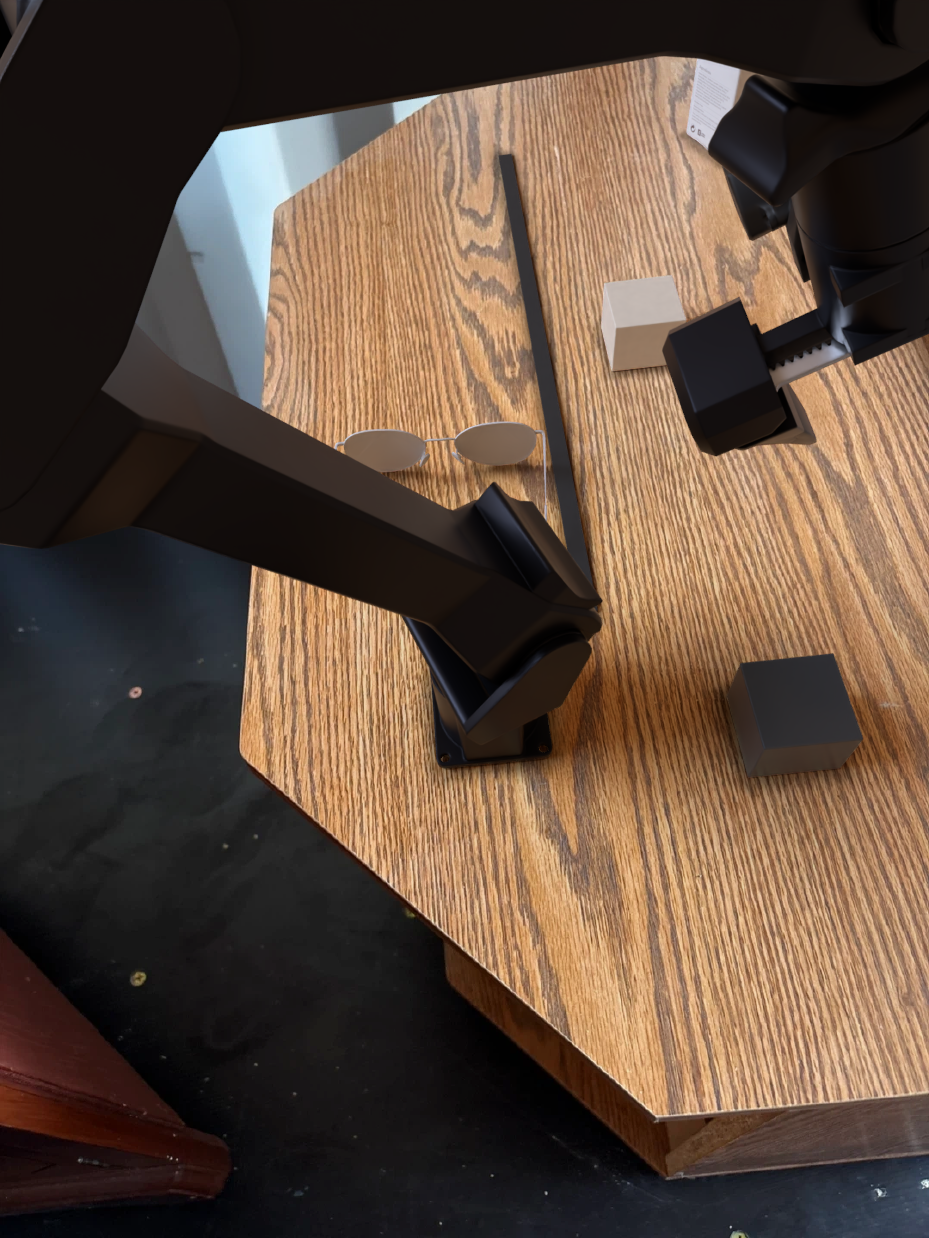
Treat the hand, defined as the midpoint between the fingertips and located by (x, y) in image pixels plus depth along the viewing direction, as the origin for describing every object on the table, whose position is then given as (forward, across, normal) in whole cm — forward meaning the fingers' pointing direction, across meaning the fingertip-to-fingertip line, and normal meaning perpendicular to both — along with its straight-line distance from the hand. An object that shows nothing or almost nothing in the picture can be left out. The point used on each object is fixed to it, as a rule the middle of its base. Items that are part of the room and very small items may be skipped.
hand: (903, 398), depth 43 cm
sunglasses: (+2, +27, -6) cm, 28 cm away
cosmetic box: (+22, 0, -43) cm, 48 cm away
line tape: (+8, +19, -21) cm, 30 cm away
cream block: (+11, +13, -18) cm, 25 cm away
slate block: (+6, +11, +13) cm, 18 cm away
